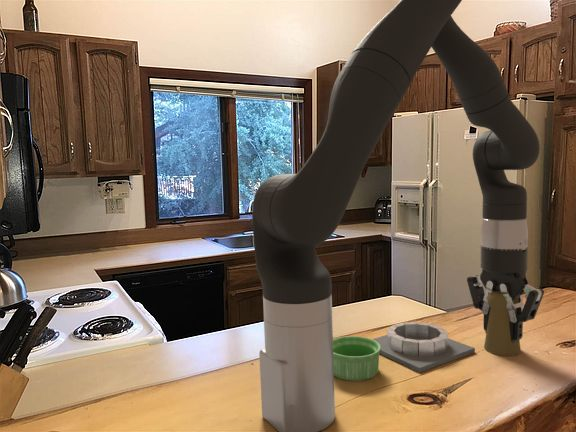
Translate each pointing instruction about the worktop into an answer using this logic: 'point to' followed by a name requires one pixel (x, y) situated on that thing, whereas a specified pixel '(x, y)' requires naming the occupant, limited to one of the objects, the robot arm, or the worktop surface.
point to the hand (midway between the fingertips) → (502, 337)
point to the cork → (500, 327)
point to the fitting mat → (427, 362)
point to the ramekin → (355, 357)
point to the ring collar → (417, 347)
